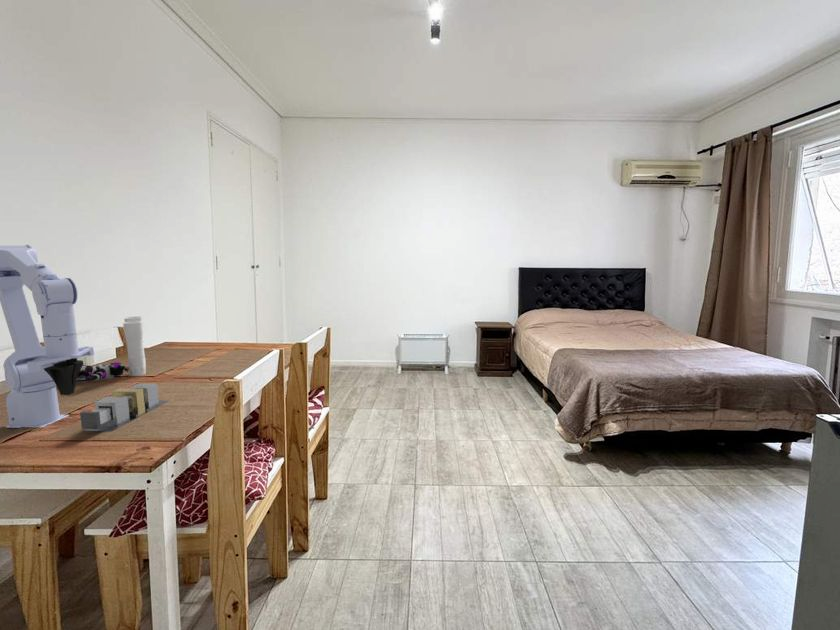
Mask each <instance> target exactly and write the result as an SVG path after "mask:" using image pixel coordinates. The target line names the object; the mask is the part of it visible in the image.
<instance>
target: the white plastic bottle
mask: <svg viewBox="0 0 840 630" xmlns="http://www.w3.org/2000/svg"><path fill="white" fill-rule="evenodd" d="M123 320H124V321H123V323H122V325H123V333H124V337H125V340H126V348H127V349H126V352H127V359H128V373H129V375H130V377H140V376H144V375H146V373H147V372H146V371H147V370H146V369H147V364H146V363H147V359H146V354H145V345H144V343H145V342H144V341H145V340H144V338H143V337H144V321H143V316H139V315H137V316H127V317H124V319H123Z"/></svg>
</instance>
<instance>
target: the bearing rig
mask: <svg viewBox="0 0 840 630" xmlns="http://www.w3.org/2000/svg"><path fill="white" fill-rule="evenodd" d="M128 388H132V389H143V391H144V395H145V413H144V414H142V415H140V416H138V414H129V407H128V398H127V397H113V396H106V397H103V398H101V399H99V400H96V401H94V410H95V409H97V408H99V407H101V406H112V412H113V419H111V420H109V421H107V422H105V423H103V424H101V428H99V429H83V431H84V432H86V431H88V432H114V431H115V430H117V429H119V428H121V427H123V426H125V425H127V424H129V423H130V422H132V421H134V420H136V419H138V418H139V417H142V416H144V415H146V414H147V413H150V412H151V411H153V410H155V409H157V408H158V407H160V406H163V405H164V404H167V403H168V402H169V400H163V399H162V400H161V399H160V397H159V386H158V383H153V382H152V383H149V382H148V383H144V382H143V383H141V382H139V383H136V384H134V385H132V386H129V387H128ZM159 399H160V400H159Z"/></svg>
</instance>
